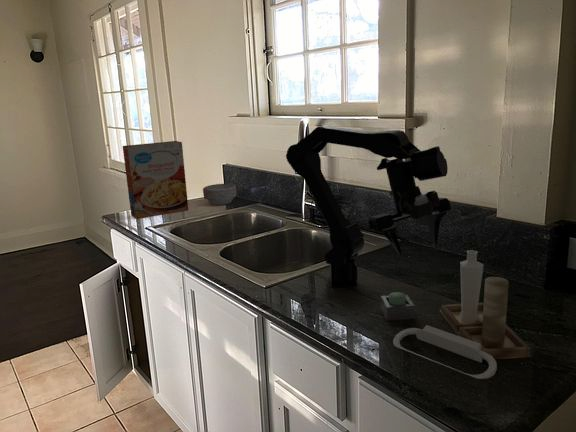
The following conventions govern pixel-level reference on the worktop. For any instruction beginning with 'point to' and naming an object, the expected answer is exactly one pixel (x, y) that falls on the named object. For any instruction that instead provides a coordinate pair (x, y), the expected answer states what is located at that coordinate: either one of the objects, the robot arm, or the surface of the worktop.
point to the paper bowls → (219, 193)
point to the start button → (397, 298)
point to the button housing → (397, 309)
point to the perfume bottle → (470, 286)
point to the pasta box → (155, 178)
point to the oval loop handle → (450, 346)
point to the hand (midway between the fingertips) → (417, 249)
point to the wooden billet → (494, 312)
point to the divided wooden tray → (473, 332)
